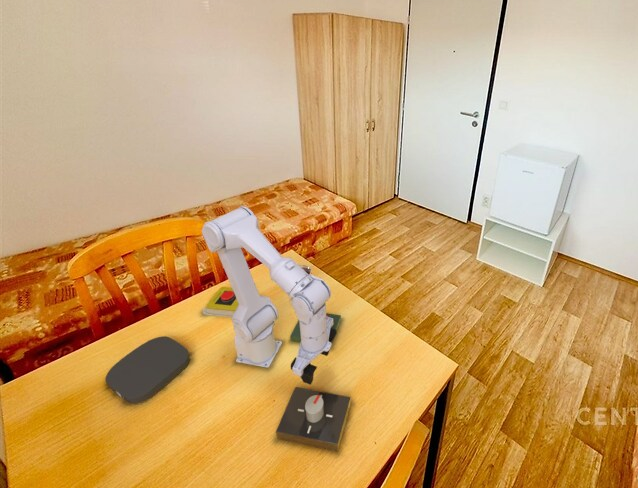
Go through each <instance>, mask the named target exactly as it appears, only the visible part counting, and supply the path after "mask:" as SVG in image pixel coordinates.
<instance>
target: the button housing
mask: <svg viewBox="0 0 638 488" xmlns="http://www.w3.org/2000/svg"><path fill="white" fill-rule="evenodd" d="M326 315H328V317H330V318H333V326H332V327H331V328H333V329H335V330H336V331H338V330H339V326H340V324H341V321H342V316H341V315H340V314H334V313H328V312H326ZM334 340H335V338H334V339H333V341H332V343H334ZM290 342H295V343H299V344H300V343H301V333H300V323H299V320H298V321H297V322H296V324H295V326H294V328H293V330H292V332H291V334H290Z"/></svg>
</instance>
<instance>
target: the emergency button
mask: <svg viewBox="0 0 638 488" xmlns="http://www.w3.org/2000/svg"><path fill="white" fill-rule="evenodd" d="M238 305H239V303H238V301H237V298H236V296H235V294H234V291H233V289H232V286H221V287H219V289H217V291H216V292H215V293H214V295H213V296H212V297H211V298H210V300H208V301H207V303H206V305H205V307H204V308H203V309H202V311H201V312H202V314H203V315H204V316H205V315H206V316H214V317H225V318H232V316H233V314H234V312H235V310H236V309H237V307H238Z"/></svg>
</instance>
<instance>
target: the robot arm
mask: <svg viewBox="0 0 638 488" xmlns="http://www.w3.org/2000/svg"><path fill="white" fill-rule="evenodd" d="M201 234H202V236H203V239H204V241H205V244H206V246H207V248H208V250H209V251H210V253H211V254H212V253H217V255H218V258H219V260H220V262H221V265H222V267H223V270H224V272H225V274H226V277H227V279H228V282H229V284H230V287H231V288H232V289H233V291H234V294H235V296H236V298H237V301H238V303H239V305H238V307H237V309H236V310H235V312H234V314H233V316H232V317H231V322H232V325H233V331H234V334H235V336H234V340H233V341H234V348H235V352H236V356H237V357H236V360H235V362H236V363H239V364H245V365H250V366H256V367H260V368H261V367H262V368H270V367H271V365H272V363H273V361H274V359H275V357H276V355H277V354H278V351H279V350H280V348H281V346H282V344H283V341H281V340H278V339H277V340H276V338H275V332H274V326H275V325H276V321H277V320H278V319H279V310H278V308H277V306H276V305H275V304H274V302H273V301H272V299H271V298H270V297H269V296H266V295H264V294H263V295H261V294H260V293H259V290H258V287H257V285H256V282H255V280H254V278H253V274H252V272H251V270H250V267H249V264H248V262H247V260H246V256H245V255H244V253H243V249H244V250H245V251H246V252H248V253H249V254H250V255H252V256H253V257H254V258H256V259H257V260H258V261H259V262H260V263H261V264H263V266H265V267H266V268H267V269H269V278H270V279H271V280H272V282H273V283H275V284H276V285H277V286H278V287H279V288H280V289H281V290H282V291H283V292H284V293H285V294H286V295H287V296H288V297H289V298H290V299H291V300H290V304H291V306H292V308H293V310H294V312H295V317H296V318H297V320H298V321H299V323H300V333H301V343H300V342H299V347H298V351H297V355H296V357H294V358H293V359H292V361H291V363H290V370H291V371H292V375H295V376H298V377H300V378H301V380H302V382H303V383H305V384H307V385H310V386H311V385H312V383H313V381H314V374H315V372H316V370H317V368H318V366H317V365H314V364H311V363H312V362H313V361H314V360H315V359H316V358H317V357H319V356H320V355H323V356H325V357H327V356H329V354H330V350H331V348H332V346H333V342H334V340H335V337H336V335H337V331H338V330H337V331H336V330H335V329H333V328H331V327H332V326H333V318H330V317H326V313H327V305H326V303H327V302H328V301H329V299H330V298H331V296H332V291H331V288H330V286H329V285H328V284H327V282H326V281H325V280H324V279H323V278H321V277H318V276H315V275H314V274H313V273H312V274H311V275H308V274H307V273H306V272H305V271H304V270H303V269H302V268H301V267H300V266H299V265H300V264H298V263H297V262H296V261H295V260H294V259H293V258H292V257H288V256H286V257H285V256H282V255H281V253H280V252H279V251H278V250H277V248H275V246H274V245H273V244H272V243H271V242H270V241H269V239H268V238H267V237H266V236H265V235H264V233H263V232H262V231H261V230H260V224H259V220H258V217H257V216H256V215H255V213H254V212H253V210H251V209H250V208H249V207H247V206H245V205H244V206H243V205H241V206H240V207H237V208H236V209H234V210H232V211H230V212H228V213H225V214H223V215H220V216H218V217H217V218H214V219H211V220H210V221H206V222H204V223H203V226H202V228H201ZM242 248H243V249H242ZM333 339H334V340H333ZM332 341H333V342H332Z"/></svg>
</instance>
